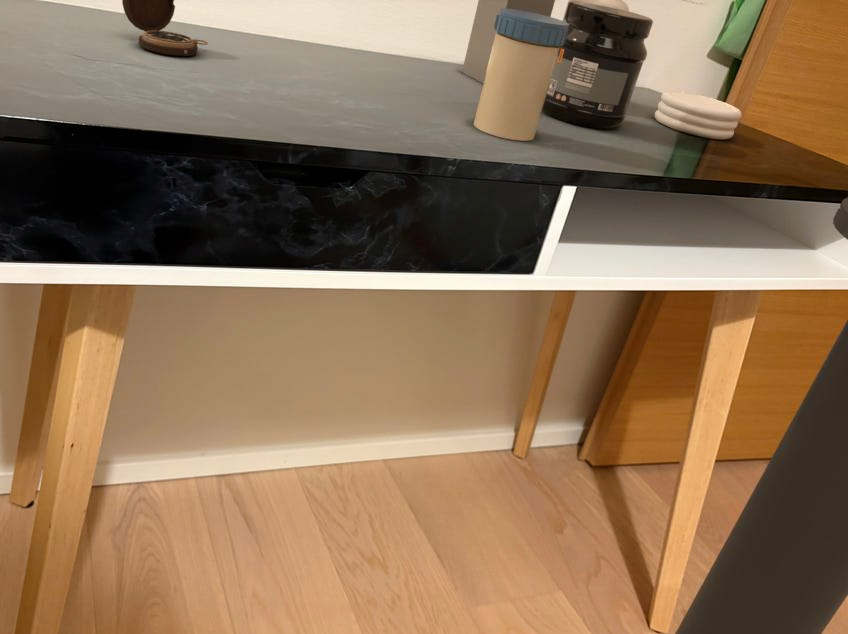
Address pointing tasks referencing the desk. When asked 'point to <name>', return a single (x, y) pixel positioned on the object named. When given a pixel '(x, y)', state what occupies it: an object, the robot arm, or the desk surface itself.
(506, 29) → the lid
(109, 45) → the desk surface
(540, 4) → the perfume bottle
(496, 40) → the jar
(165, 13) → the compass
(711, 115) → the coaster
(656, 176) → the desk surface
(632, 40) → the supplement container
